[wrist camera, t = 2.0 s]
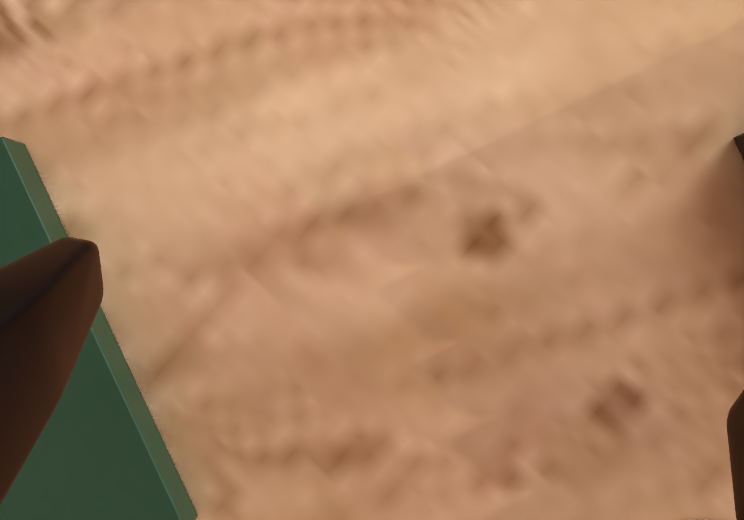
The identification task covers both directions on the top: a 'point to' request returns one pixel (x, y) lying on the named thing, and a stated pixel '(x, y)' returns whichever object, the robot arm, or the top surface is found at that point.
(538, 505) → the top surface
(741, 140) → the computer keyboard
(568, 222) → the top surface
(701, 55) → the top surface
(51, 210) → the cutting board
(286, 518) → the top surface
